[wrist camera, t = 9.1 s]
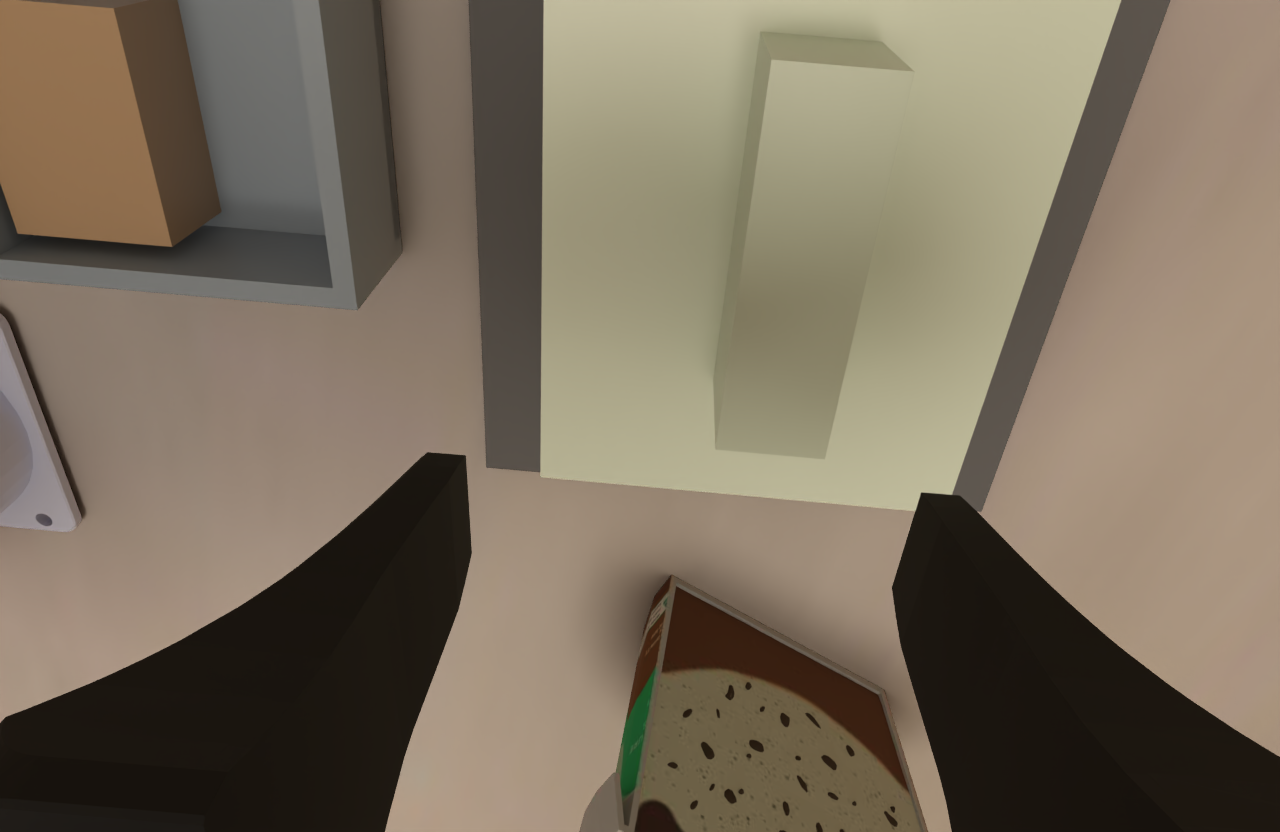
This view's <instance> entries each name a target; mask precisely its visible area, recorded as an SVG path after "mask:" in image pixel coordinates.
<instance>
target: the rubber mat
mask: <svg viewBox="0 0 1280 832" xmlns="http://www.w3.org/2000/svg"><path fill="white" fill-rule="evenodd" d="M1169 3H1170V0H1121V3H1120V6H1119V9H1118V12H1117V14H1116V17H1115V20H1114V23H1113V26H1112V29H1111V32H1110V35H1109V38H1108V41H1107V44H1106V47H1105V49H1104V52H1103V55H1102V58H1101V61H1100V64H1099V67H1098V70H1097V73H1096V76H1095V79H1094V82H1093V84H1092V87H1091V90H1090V93H1089V96H1088V99H1087V102H1086V105H1085V108H1084V111H1083V114H1082V117H1081V120H1080V122H1079V125H1078V128H1077V131H1076V134H1075V137H1074V140H1073V143H1072V146H1071V149H1070V152H1069V155H1068V157H1067V160H1066V163H1065V166H1064V169H1063V172H1062V175H1061V178H1060V181H1059V184H1058V187H1057V190H1056V192H1055V195H1054V198H1053V201H1052V204H1051V207H1050V210H1049V213H1048V216H1047V219H1046V222H1045V225H1044V228H1043V230H1042V233H1041V236H1040V239H1039V242H1038V245H1037V248H1036V251H1035V254H1034V257H1033V260H1032V263H1031V265H1030V268H1029V271H1028V274H1027V277H1026V280H1025V283H1024V286H1023V289H1022V292H1021V295H1020V298H1019V300H1018V303H1017V306H1016V309H1015V312H1014V315H1013V318H1012V321H1011V324H1010V327H1009V330H1008V333H1007V335H1006V338H1005V341H1004V344H1003V347H1002V350H1001V353H1000V356H999V359H998V362H997V365H996V368H995V371H994V373H993V376H992V379H991V382H990V385H989V388H988V391H987V394H986V397H985V400H984V403H983V406H982V408H981V411H980V414H979V417H978V420H977V423H976V426H975V429H974V432H973V435H972V438H971V441H970V443H969V446H968V449H967V452H966V455H965V458H964V461H963V464H962V467H961V470H960V473H959V476H958V479H957V481H956V484H955V487H954V490H953V493H952V495H960V496H961V497H962V498H963V499H964V500H965V501H967V502H968V503H969V504H970V505H971V506H972V507H973V508H974V509H975V510H976V511H979V512H981V511H982V509H983V506H984V503H985V500H986V498H987V495H988V492H989V490H990V487H991V484H992V482H993V479H994V476H995V473H996V471H997V468H998V465H999V463H1000V460H1001V457H1002V454H1003V452H1004V449H1005V446H1006V444H1007V441H1008V438H1009V436H1010V433H1011V430H1012V427H1013V425H1014V422H1015V419H1016V417H1017V414H1018V411H1019V408H1020V406H1021V403H1022V400H1023V398H1024V395H1025V392H1026V390H1027V387H1028V384H1029V381H1030V379H1031V376H1032V373H1033V371H1034V368H1035V365H1036V363H1037V360H1038V357H1039V354H1040V352H1041V349H1042V346H1043V344H1044V341H1045V338H1046V335H1047V333H1048V330H1049V327H1050V325H1051V322H1052V319H1053V317H1054V314H1055V311H1056V308H1057V306H1058V303H1059V300H1060V298H1061V295H1062V292H1063V289H1064V287H1065V284H1066V281H1067V279H1068V276H1069V273H1070V271H1071V268H1072V265H1073V262H1074V260H1075V257H1076V254H1077V252H1078V249H1079V246H1080V244H1081V241H1082V238H1083V235H1084V233H1085V230H1086V227H1087V225H1088V222H1089V219H1090V216H1091V214H1092V211H1093V208H1094V206H1095V203H1096V200H1097V198H1098V195H1099V192H1100V189H1101V187H1102V184H1103V181H1104V179H1105V176H1106V173H1107V170H1108V168H1109V165H1110V162H1111V160H1112V157H1113V154H1114V152H1115V149H1116V146H1117V143H1118V141H1119V138H1120V135H1121V133H1122V130H1123V127H1124V125H1125V122H1126V119H1127V116H1128V114H1129V111H1130V108H1131V106H1132V103H1133V100H1134V97H1135V95H1136V92H1137V89H1138V87H1139V84H1140V81H1141V79H1142V76H1143V73H1144V70H1145V68H1146V65H1147V62H1148V60H1149V57H1150V54H1151V51H1152V49H1153V46H1154V43H1155V41H1156V38H1157V35H1158V33H1159V30H1160V27H1161V24H1162V22H1163V19H1164V16H1165V14H1166V11H1167V8H1168V5H1169ZM543 15H544V0H469V21H470V47H471V73H472V100H473V126H474V152H475V178H476V205H477V231H478V257H479V284H480V310H481V336H482V362H483V389H484V415H485V441H486V467H487V468H498V469H510V470H521V471H532V472H540V455H541V308H542V161H543Z"/></svg>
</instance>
